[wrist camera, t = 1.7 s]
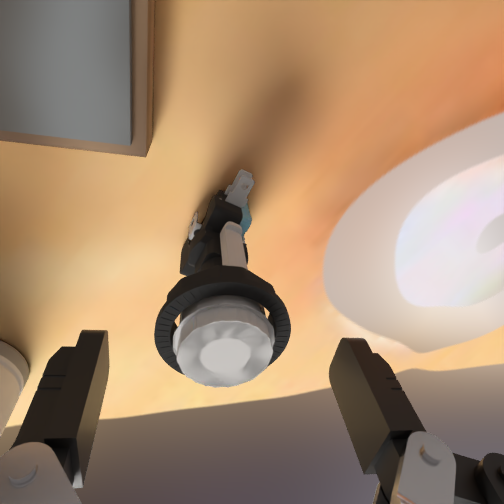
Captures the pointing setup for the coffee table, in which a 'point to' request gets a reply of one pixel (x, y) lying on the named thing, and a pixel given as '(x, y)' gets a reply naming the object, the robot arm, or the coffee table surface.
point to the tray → (77, 74)
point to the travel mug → (10, 380)
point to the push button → (221, 300)
